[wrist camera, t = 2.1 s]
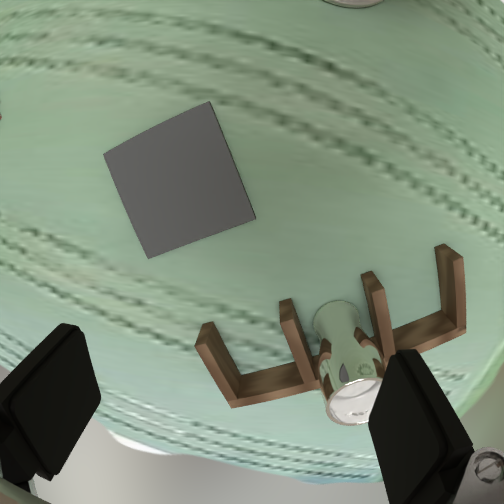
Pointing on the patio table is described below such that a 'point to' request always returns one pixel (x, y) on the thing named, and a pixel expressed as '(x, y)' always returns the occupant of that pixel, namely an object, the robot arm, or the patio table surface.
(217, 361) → the slot rack
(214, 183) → the rubber mat
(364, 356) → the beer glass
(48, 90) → the patio table surface
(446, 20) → the patio table surface
